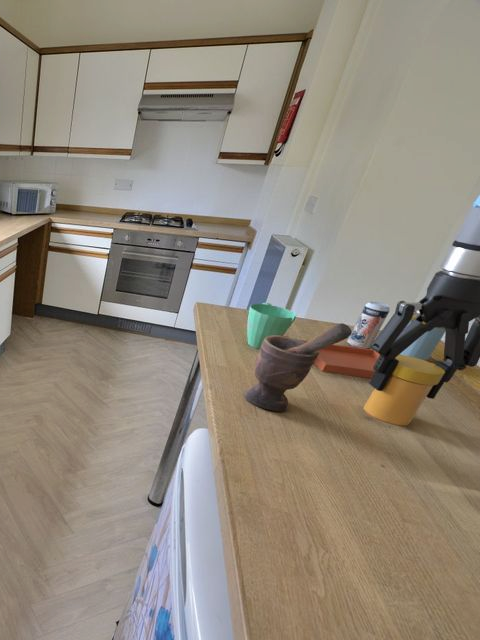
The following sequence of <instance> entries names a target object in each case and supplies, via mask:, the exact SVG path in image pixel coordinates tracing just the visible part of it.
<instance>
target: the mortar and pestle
mask: <svg viewBox="0 0 480 640" xmlns="http://www.w3.org/2000/svg"><path fill="white" fill-rule="evenodd" d="M352 331H353V330H352V328H351V327H350V326H349V325H347V324H345V323H343V322H342V323H336V324H333V325H332V326H330V327H327V328H326V329H325V330H323V331H322V332H320V333H318V334H317V335H315V336H314V337H313V338H311V339H309V340H307V341H308V342H307V343H306V342H303V341H300V340H301V339H297V338H293V337H291V336H286V335H283V336H282V335H271V336H267V337H266V338H265V339H264V341H263V343H262V346H261V348H260V349H259V351H258V354H257V356H256V359H255V364H254V376H255V378H256V379H257V381H258V383H257V384H256V385H253V386H250V387H249V388H248V389H247V390H246V391H245V393H244V398H245V399H246V401H247V402H249V403H250V404H252V405H254V406H256V407H257V408H260V409H264V410H268V411H273V412H281V413H282V412H285V411H287V410H288V406H289V399H288V397H287V396H286V394H285V393H286V391H287V390H293V389H295V388H297V387H298V386H299V385H300V384H301V383H302V382H303V381H304V380H305V379H306V378H307V376H308V375H309V373H310V371H311V369H312V367H313V365H314V362H315V360H316V358H317V357H318V355H319V351H318V350H320V349H322V348H324V347H327V346H330V345H332V344H335V345H336V344H338V343H340V342H342V341H345V340H346V339H349V337H350V335H351V334H352Z"/></svg>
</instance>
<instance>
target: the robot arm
mask: <svg viewBox="0 0 480 640" xmlns="http://www.w3.org/2000/svg"><path fill="white" fill-rule="evenodd" d="M471 206H472V207H471V208H470V210H469V212H468V214H467V216H466V218H465V219H464V222H463V224H462V225H461V227H460V229H459V231H458V233H457V235H456V236H455V238H454V241H453V242H452V244H451V245H450V247H449V249H448V251H447V252H446V255H445V256H444V258H443V260H442V261H441V264H440V265H439V268H440V269H441V270H439V271H437V272H435V273H434V275H433V277H432V279H431V281H430V283H429V284H428V286H427V288H426V294H425V296H424V297H423V298H421V299H420V300H419V301H417V302H416V301H415V302H408V301H405V300H400V301H398V302H397V303H396V307H395V310H394V313H393V315H392V316H391V317H390V319H389V320H388V322H387V323H386V324H385V325H384V327H383V328H382V330H381V331H379V333H378V334H377V336H376V337H375V339H374V341H373V343H372V345H371V346H370V349H372V350H374V351H376V352H377V353H378V354H380V356H379V358H378V359H377V361H376V363H375V365H374V367H373V369H374V370H375V373H374V375H373V377H372V379H371V378H370V381H369V382H368V384H369V385H370V386H372V388H373V389H374V388H375V389H376V390H378V391H382V390H383V389H384V387H385V385H386V383H387V382H388V380H389V378H390V376H391V375H392V373H393V371H394V369H395V368H396V366H397V364H398V362H399V361H398V360H397V359H395V358H396V357H397V356H398V355H399V354H400V353H402V352H403V351H404V350H405V349H406V348H408V347H409V346H410V345H411V344H412V343H414V342H415V341H416V340H417V339H418V338H420V337H421V336H422V335H423V334H424V333H426V332H428V331H431V330H433V329H434V328H435V327H444V328H445V330H446V332H445V333H444V351H443V361H441V360H440V361H439V360H437V361H435V363H434V364H435V365H437V366H439V367H441V368H442V369H443V370H444V371H445V373H444V375H443V377H442V378H441V380H440V381H439V383H438V384H437V385H434V386H433V387H432V389H431V391H430V392H429V394H428V395H427V397H426V398H428V399H431V400H433V399H435V398H436V396H437V395H438V393H439V391H440V389H442V387H443V385H444V383H448V382H450V381H451V379H452V378H453V376H454V375H455V374H456V372H457V370H458V371H464V370H465V369H466V368H467V367H470V368H472V367H473V368H474V367H476V366H477V365H478V363H479V360H480V194H479V195H478V196H477V198H476V199H475V201H474V202H473V203H472V205H471ZM418 310H419V312H420V313H419V314H418V315H417V316H416V317H415V318H414V319H412V317H413V315H416V314H417V311H418ZM411 319H412V320H411ZM410 320H411V324H410V325H409V326H407V324H408V323H409V322H410ZM473 320H474V321H473ZM471 321H473V322H472V324H471V326H470V322H471ZM422 322H425V323H426V324H423V323H422ZM406 326H407V327H406ZM469 326H470V327H469ZM405 327H406V328H405ZM404 328H405V329H404ZM466 334H467V335H466Z"/></svg>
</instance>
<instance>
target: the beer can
mask: <svg viewBox="0 0 480 640" xmlns="http://www.w3.org/2000/svg"><path fill="white" fill-rule="evenodd" d="M390 311H391V310H390V305H389V304H386V303H384V302H383V303H382V302H379V301H369V302H367V303H366V304H365V305H364V307H363V309H362V311H361V313H360V315H359V317H358V319H357V321H356V323H355V325H354V326H353V329H352V330H351V331H352V334H351V335H350V336H349V337H348V338H347V343H348V344H349V346H351V347H358V348H365V349H371V347H370V346H371V345H372V343H373V342H374V341H375V339H376V338H377V336H378V335H379V333H380V330H381V329H382V326H383V324H384V322H385V321H386V318H387V317H388V315H389V313H390Z"/></svg>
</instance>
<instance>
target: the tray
mask: <svg viewBox="0 0 480 640" xmlns="http://www.w3.org/2000/svg"><path fill="white" fill-rule="evenodd" d="M299 340H300V341H303V342H306V343H307V342H308V341H309V340H304V339H299ZM318 351H319V355H318V357H317V358H316V360H315V362H314V363H313V365H315V366H316V367H317V368H318V369H319V370H320V371H321V372H322V373H323V372H325V373H331V374H337V375H344V376H351V377H357V378H363V379H364V378H365V379H370V380H371V379H372V377H373V375H374V373H375V370H374V369H373V367H374V365H375V363H376V361H377V359H378V358H379V356H380V354H378V353H377V352H376V351H374V350H373V349H371V348H366V349H365V348H358V347H354V346H351V345H341V344H336V343H335V344H332V345H330V346H327V347H324V348H322V349H320V350H318Z"/></svg>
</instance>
